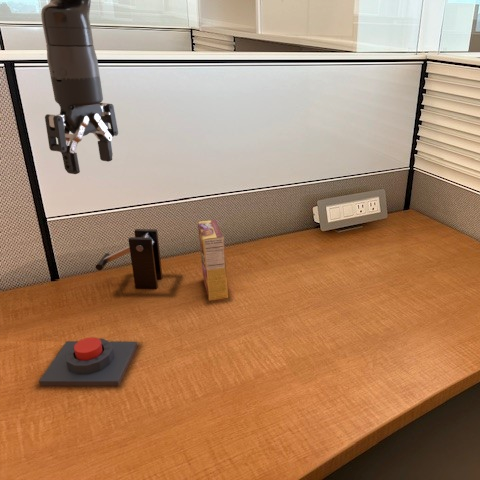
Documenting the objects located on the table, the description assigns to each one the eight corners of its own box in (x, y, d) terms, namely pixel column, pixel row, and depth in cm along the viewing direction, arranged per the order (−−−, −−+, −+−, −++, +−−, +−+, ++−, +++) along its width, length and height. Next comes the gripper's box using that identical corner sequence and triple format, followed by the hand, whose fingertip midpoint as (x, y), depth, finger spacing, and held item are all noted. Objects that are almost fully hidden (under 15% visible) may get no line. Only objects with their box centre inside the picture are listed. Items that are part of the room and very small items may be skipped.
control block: (40, 389, 75) (36, 372, 73) (68, 349, 84) (64, 332, 82) (119, 389, 76) (116, 372, 74) (138, 349, 85) (135, 333, 83)
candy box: (202, 284, 105) (197, 220, 99) (221, 282, 107) (218, 218, 100) (207, 306, 98) (202, 238, 91) (228, 303, 99) (225, 236, 92)
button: (71, 361, 76) (69, 352, 76) (81, 345, 80) (80, 337, 79) (97, 361, 77) (95, 352, 76) (106, 345, 80) (104, 337, 80)
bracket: (117, 297, 99) (108, 242, 94) (129, 278, 106) (121, 225, 101) (171, 298, 100) (165, 243, 94) (179, 279, 107) (174, 226, 101)
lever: (99, 273, 98) (92, 264, 97) (108, 261, 103) (101, 252, 102) (149, 249, 96) (142, 239, 95) (156, 238, 101) (149, 229, 100)
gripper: (86, 68, 88) (100, 154, 95) (22, 76, 75) (43, 175, 82) (121, 71, 86) (132, 159, 93) (61, 79, 73) (79, 180, 80)
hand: (90, 166), depth 88 cm, fingers open, 8 cm apart
